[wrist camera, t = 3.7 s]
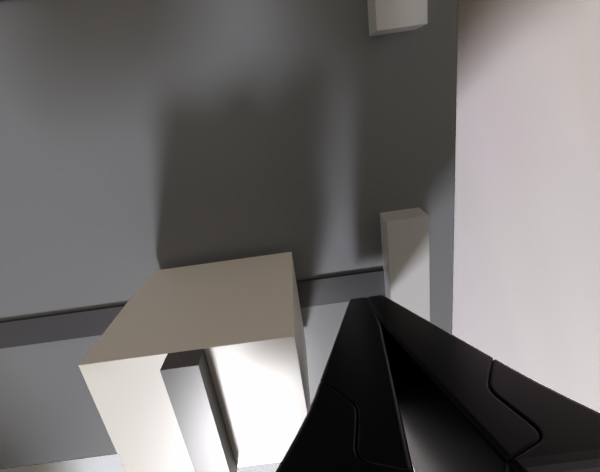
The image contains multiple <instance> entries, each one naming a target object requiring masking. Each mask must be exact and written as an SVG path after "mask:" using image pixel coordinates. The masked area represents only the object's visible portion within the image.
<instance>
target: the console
mask: <svg viewBox="0 0 600 472" xmlns="http://www.w3.org/2000/svg"><path fill="white" fill-rule="evenodd" d="M457 30H458V0H0V469H5V468H13V467H20V466H28V465H36V464H44V463H51V462H59V461H67V460H74V459H82V458H90V457H97V456H105V455H113V454H117V452H116V450H115V447H114V445H113V443H112V441H111V438H110V436H109V434H108V432H107V429H106V427H105V425H104V422H103V420H102V418H101V416H100V413H99V411H98V409H97V407H96V404H95V402H94V400H93V398H92V395H91V393H90V391H89V388H88V386H87V384H86V382H85V379H84V377H83V375H82V373H81V370H80V368H79V366H78V365H79V364H80V363H81V361H82V360H83V359H84V357H85V356H86V355H87V354H88V352H89V351H90V350H91V348H92V347H93V346H94V345H95V343H96V342H97V341H98V339H99V338H100V337H101V336H102V334H103V333H104V332H105V330H106V329H107V328H108V327H109V325H110V324H111V323H112V321H113V320H114V319H115V318H116V316H117V315H118V314H119V312H120V311H121V310H122V309H123V307H124V306H125V305H126V303H127V302H128V301H129V300H130V298H131V297H132V296H133V294H134V293H135V292H136V291H137V289H138V288H139V287H140V285H141V284H142V283H143V282H144V280H145V279H146V278H147V276H148V275H149V274H150V273H151V271H155V270H162V269H169V268H177V267H184V266H191V265H198V264H206V263H213V262H220V261H227V260H235V259H242V258H249V257H256V256H263V255H271V254H278V253H285V252H292V257H293V264H294V270H295V276H296V283H297V289H298V296H299V302H300V308H301V315H302V321H303V328H304V334H305V340H306V351H307V364H308V377H309V390H310V402H311V403H312V401H313V399H314V396H315V393H316V391H317V388H318V385H319V383H320V380H321V378H322V375H323V372H324V369H325V367H326V364H327V361H328V358H329V356H330V353H331V350H332V348H333V345H334V342H335V339H336V337H337V334H338V331H339V328H340V326H341V323H342V320H343V317H344V315H345V312H346V309H347V307H348V304H349V301H350V300H351V299H355V298H362V297H366V298H367V297H370V296H377V295H383V296H385V297H387V298H389V299H391V300H392V301H394V302H396V303H398V304H399V305H401V306H403V307H405V308H406V309H408V310H410V311H412V312H413V313H415V314H417V315H419V316H420V317H422V318H424V319H426V320H427V321H429V322H431V323H433V324H434V325H436V326H438V327H440V328H441V329H443V330H445V331H447V332H448V333H450V334H452V306H453V251H454V195H455V140H456V85H457Z"/></svg>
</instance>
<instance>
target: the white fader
mask: <svg viewBox="0 0 600 472" xmlns="http://www.w3.org/2000/svg"><path fill="white" fill-rule="evenodd" d="M78 366H79V368H80V370H81V373H82V375H83V377H84V379H85V382H86V384H87V386H88V388H89V391H90V393H91V395H92V398H93V400H94V402H95V404H96V407H97V409H98V411H99V413H100V416H101V418H102V420H103V422H104V425H105V427H106V429H107V432H108V434H109V436H110V438H111V441H112V443H113V445H114V447H115V450H116V452H117V454H118V456H119V459H120V461H121V463H122V466H123V468H124V470H125V472H237V467H245V466H253V465H260V464H268V463H276V462H281V461H282V460H283V458H284V456H285V454H286V452H287V451H288V449H289V447H290V445H291V444H292V442H293V440H294V438H295V436H296V434H297V433H298V431H299V429H300V427H301V425H302V423H303V421H304V419H305V417H306V415H307V413H308V410H309V408H310V406H311V402H310V390H309V377H308V364H307V351H306V340H305V334H304V328H303V321H302V315H301V308H300V302H299V296H298V289H297V283H296V276H295V270H294V264H293V257H292V252H285V253H278V254H271V255H263V256H256V257H249V258H242V259H235V260H227V261H220V262H213V263H206V264H198V265H191V266H184V267H177V268H169V269H162V270H155V271H151V273H150V274H149V275H148V276H147V278H146V279H145V280H144V282H143V283H142V284H141V285H140V287H139V288H138V289H137V291H136V292H135V293H134V294H133V296H132V297H131V298H130V300H129V301H128V302H127V303H126V305H125V306H124V307H123V309H122V310H121V311H120V312H119V314H118V315H117V316H116V318H115V319H114V320H113V321H112V323H111V324H110V325H109V327H108V328H107V329H106V330H105V332H104V333H103V334H102V336H101V337H100V338H99V339H98V341H97V342H96V343H95V345H94V346H93V347H92V348H91V350H90V351H89V352H88V354H87V355H86V356H85V357H84V359H83V360H82V361H81V363H80V364H79V365H78Z"/></svg>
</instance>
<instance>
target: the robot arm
mask: <svg viewBox="0 0 600 472" xmlns="http://www.w3.org/2000/svg"><path fill="white" fill-rule="evenodd" d="M412 464H413V466H412ZM413 467H414V469H415V472H600V413H598V412H596V411H594V410H592V409H590V408H588V407H586V406H584V405H582V404H580V403H577V402H575V401H573V400H571V399H569V398H567V397H565V396H563V395H561V394H559V393H557V392H555V391H553V390H551V389H549V388H547V387H545V386H543V385H541V384H539V383H537V382H535V381H533V380H532V379H530V378H528V377H526V376H524V375H522V374H521V373H519V372H517V371H515V370H513V369H511V368H510V367H508V366H506V365H504V364H503V363H501V362H499V361H497V360H493V358H492V357H490V356H488V355H487V354H485V353H483V352H481V351H480V350H478V349H476V348H474V347H473V346H471V345H469V344H467V343H466V342H464V341H462V340H460V339H459V338H457V337H455V336H454V335H452V334H450V333H448V332H447V331H445V330H443V329H441V328H440V327H438V326H436V325H434V324H433V323H431V322H429V321H427V320H426V319H424V318H422V317H420V316H419V315H417V314H415V313H413V312H412V311H410V310H408V309H406V308H405V307H403V306H401V305H399V304H398V303H396V302H394V301H392V300H391V299H389V298H387V297H385V296H383V295H377V296H370V297H367V298H366V297H362V298H355V299H351V300H350V301H349V304H348V307H347V309H346V312H345V315H344V317H343V320H342V323H341V326H340V328H339V331H338V334H337V337H336V339H335V342H334V345H333V348H332V350H331V353H330V356H329V358H328V361H327V364H326V367H325V369H324V372H323V375H322V378H321V380H320V383H319V385H318V388H317V391H316V393H315V396H314V399H313V401H312V403H311V406H310V408H309V410H308V413H307V415H306V417H305V419H304V421H303V423H302V425H301V427H300V429H299V431H298V433H297V434H296V436H295V438H294V440H293V442H292V444H291V445H290V447H289V449H288V451H287V452H286V454H285V456H284V458H283V460H282V461H281V463H280V465H279V467H278V469H277V470H276V472H414V470H413Z"/></svg>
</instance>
